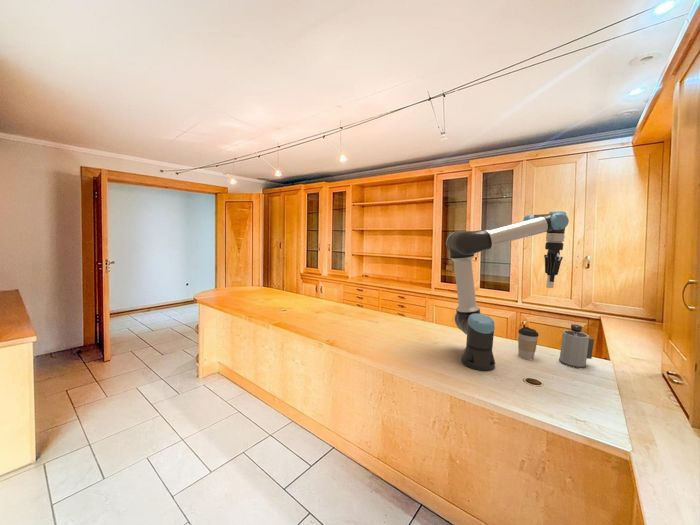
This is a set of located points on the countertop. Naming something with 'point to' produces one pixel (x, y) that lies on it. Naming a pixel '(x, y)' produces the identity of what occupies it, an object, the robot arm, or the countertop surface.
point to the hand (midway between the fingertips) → (549, 287)
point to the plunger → (576, 328)
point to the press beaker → (575, 349)
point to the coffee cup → (527, 342)
